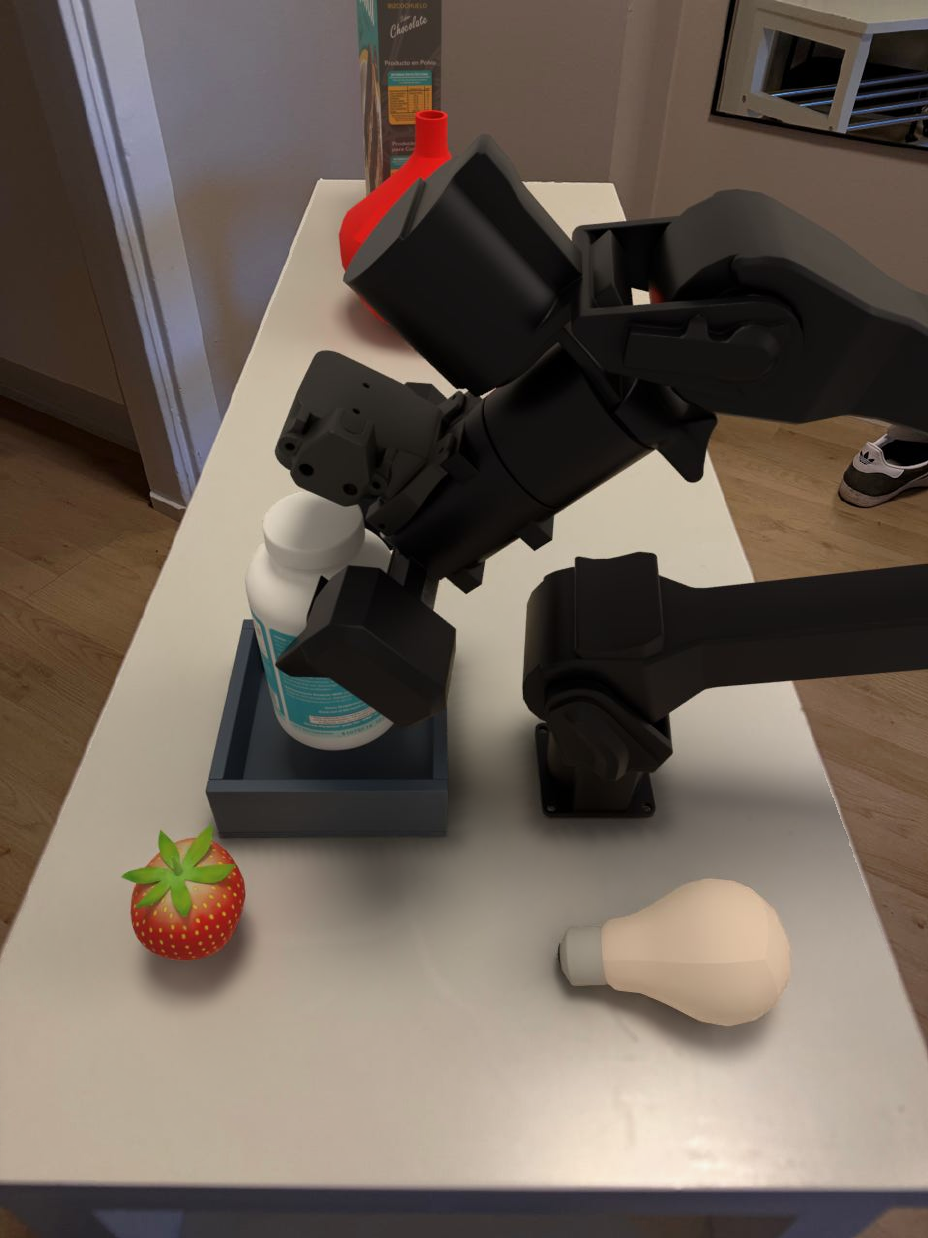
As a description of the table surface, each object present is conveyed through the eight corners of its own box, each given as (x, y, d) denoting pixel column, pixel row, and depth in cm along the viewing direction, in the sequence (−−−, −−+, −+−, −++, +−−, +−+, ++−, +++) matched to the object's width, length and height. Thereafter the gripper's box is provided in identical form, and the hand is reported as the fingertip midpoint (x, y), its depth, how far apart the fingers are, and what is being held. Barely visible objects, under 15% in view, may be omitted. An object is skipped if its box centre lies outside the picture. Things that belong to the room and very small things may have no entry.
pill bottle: (431, 695, 50) (426, 510, 41) (344, 780, 46) (315, 596, 37) (337, 637, 54) (312, 453, 44) (247, 712, 49) (197, 527, 40)
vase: (338, 358, 86) (321, 146, 72) (349, 277, 98) (336, 84, 85) (524, 359, 86) (541, 150, 73) (511, 279, 99) (523, 88, 86)
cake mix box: (366, 206, 113) (351, -89, 92) (412, 205, 114) (408, -89, 93) (386, 280, 98) (374, -53, 77) (439, 277, 99) (442, -53, 78)
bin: (446, 836, 49) (447, 791, 45) (219, 837, 48) (204, 792, 45) (445, 667, 57) (446, 619, 54) (253, 667, 57) (243, 618, 54)
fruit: (246, 991, 42) (218, 916, 37) (140, 989, 42) (95, 913, 37) (265, 889, 46) (242, 806, 40) (168, 886, 46) (131, 803, 40)
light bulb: (541, 975, 38) (803, 966, 36) (547, 859, 44) (775, 844, 41) (566, 1058, 42) (807, 1056, 39) (569, 941, 47) (781, 932, 45)
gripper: (425, 216, 39) (230, 411, 48) (332, 452, 26) (88, 662, 35) (581, 385, 44) (380, 534, 53) (568, 654, 31) (304, 793, 40)
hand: (302, 613), depth 45 cm, fingers closed on pill bottle, 7 cm apart
